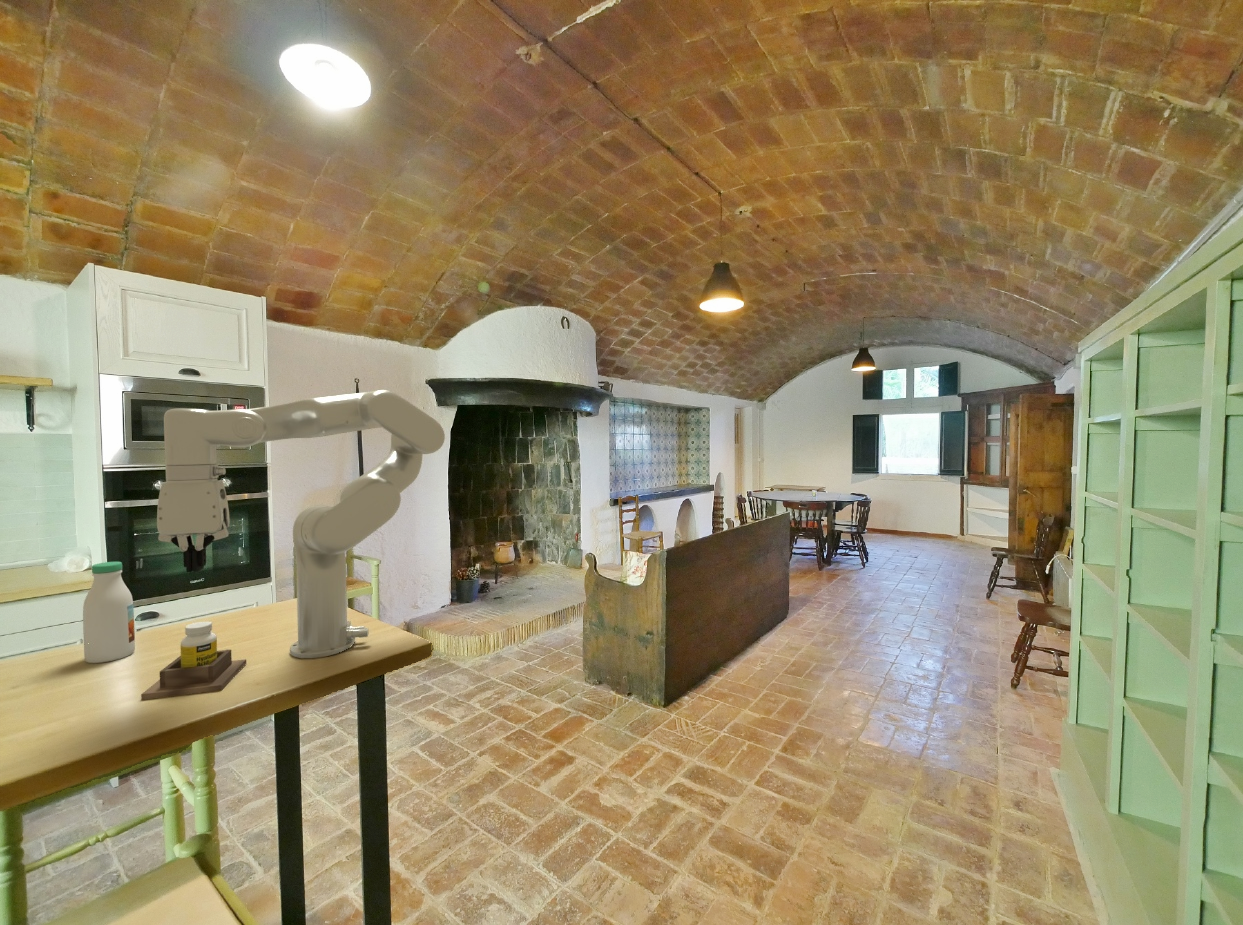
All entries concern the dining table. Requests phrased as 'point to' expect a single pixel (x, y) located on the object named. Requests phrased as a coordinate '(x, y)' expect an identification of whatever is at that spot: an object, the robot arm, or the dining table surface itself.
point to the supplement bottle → (198, 645)
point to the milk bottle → (108, 616)
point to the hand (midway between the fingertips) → (195, 570)
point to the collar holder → (195, 677)
